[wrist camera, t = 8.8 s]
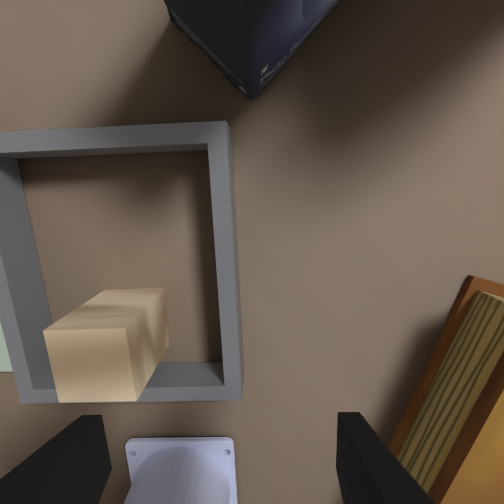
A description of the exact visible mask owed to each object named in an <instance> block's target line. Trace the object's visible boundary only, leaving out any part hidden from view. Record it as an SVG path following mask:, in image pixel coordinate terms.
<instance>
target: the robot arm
mask: <svg viewBox="0 0 504 504" xmlns="http://www.w3.org/2000/svg"><path fill="white" fill-rule="evenodd" d="M226 449H227V450H228V451H227V450H226ZM125 450H126V456H127V462H128V468H129V474H130V480H131V487H130V489H129V492H128V494H127V496H126V499H125V501H124V503H123V504H238V500H237V484H236V469H235V454H234V442H233V440H232V439H231V438H230V437H176V438H130V439H129V440H128V441H127V443H126V445H125ZM111 469H112V466H111V461H110V456H109V451H108V446H107V440H106V435H105V430H104V425H103V419H102V415H82V416H81V417H79V418H78V419H76V420H75V421H74V422H72V423H71V424H70V425H69V426H67V427H66V428H65V429H63V430H62V431H61V432H60V433H58V434H57V435H56V436H55V437H53V438H52V439H51V440H50V441H48V442H47V443H46V444H44V445H43V446H42V447H41V448H39V449H38V450H37V451H36V452H34V453H33V454H32V455H31V456H29V457H28V458H27V459H26V460H24V461H23V462H22V463H20V464H19V465H18V466H17V467H15V468H14V469H13V470H12V471H10V472H9V473H8V474H6V475H5V476H4V477H3V478H1V479H0V504H98V502H99V500H100V498H101V495H102V493H103V490H104V488H105V485H106V482H107V480H108V477H109V475H110V472H111ZM336 470H337V474H338V479H339V484H340V489H341V494H342V498H343V503H344V504H436V503H435V502H434V500H433V499H432V498H431V497H430V496H429V495H428V494H427V493H426V492H425V490H424V489H423V488H422V487H421V486H420V485H419V484H418V482H417V481H416V480H415V479H414V478H413V477H412V476H411V474H410V473H409V472H408V471H407V470H406V469H405V468H404V466H403V465H402V464H401V463H400V462H399V461H398V459H397V458H396V457H395V456H394V455H393V453H392V452H391V451H390V450H389V448H388V447H387V446H386V445H385V444H384V442H383V441H382V440H381V439H380V437H379V436H378V435H377V434H376V432H375V431H374V430H373V429H372V427H371V426H370V425H369V424H368V422H367V421H366V420H365V418H364V417H363V416H362V415H361V414H360V413H359V412H338V425H337V455H336Z"/></svg>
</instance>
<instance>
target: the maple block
mask: <svg viewBox="0 0 504 504" xmlns="http://www.w3.org/2000/svg"><path fill="white" fill-rule="evenodd" d="M43 334H44V338H45V343H46V347H47V351H48V356H49V360H50V365H51V369H52V374H53V378H54V383H55V387H56V392H57V396H58V400H59V403H73V402H124V401H137V400H138V398H139V396H140V395H141V393H142V391H143V389H144V388H145V386H146V384H147V383H148V381H149V379H150V377H151V376H152V374H153V372H154V370H155V369H156V367H157V365H158V363H159V362H160V360H161V358H162V356H163V355H164V353H165V351H166V350H167V348H168V346H169V344H170V337H169V329H168V320H167V312H166V303H165V295H164V288H156V289H126V290H104V291H102V292H101V293H99V294H98V295H96V296H95V297H93V298H92V299H90V300H89V301H87V302H86V303H84V304H83V305H81V306H80V307H78V308H76V309H75V310H73V311H72V312H70V313H69V314H67V315H66V316H64V317H63V318H61V319H60V320H58V321H57V322H55V323H54V324H52V325H51V326H49V327H48V328H46V329H45V330H43Z"/></svg>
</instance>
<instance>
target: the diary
mask: <svg viewBox="0 0 504 504" xmlns="http://www.w3.org/2000/svg"><path fill="white" fill-rule="evenodd" d="M388 448H389V450H390V451H391V452H392V453H393V455H394V456H395V457H396V458H397V459H398V461H399V462H400V463H401V464H402V465H403V466H404V468H405V469H406V470H407V471H408V472H409V473H410V474H411V476H412V477H413V478H414V479H415V480H416V481H417V482H418V484H419V485H420V486H421V487H422V488H423V489H424V490H425V492H426V493H427V494H428V495H429V496H430V497H431V498H432V499H433V500H434V502H435V503H436V504H504V285H503V284H499V283H496V282H492V281H489V280H485V279H482V278H478V277H475V276H471V275H468V278H467V280H466V282H465V284H464V286H463V288H462V290H461V292H460V294H459V297H458V299H457V301H456V303H455V305H454V307H453V309H452V311H451V314H450V316H449V318H448V320H447V322H446V324H445V326H444V328H443V331H442V333H441V335H440V337H439V339H438V341H437V343H436V345H435V347H434V350H433V352H432V354H431V356H430V358H429V360H428V362H427V364H426V367H425V369H424V371H423V373H422V375H421V377H420V379H419V381H418V383H417V386H416V388H415V390H414V392H413V394H412V396H411V398H410V400H409V403H408V405H407V407H406V409H405V411H404V413H403V415H402V417H401V419H400V422H399V424H398V426H397V428H396V430H395V432H394V434H393V436H392V439H391V441H390V443H389V445H388Z"/></svg>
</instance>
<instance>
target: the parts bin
mask: <svg viewBox="0 0 504 504" xmlns="http://www.w3.org/2000/svg"><path fill="white" fill-rule="evenodd" d="M198 150H208V157H209V171H210V185H211V200H212V214H213V228H214V242H215V256H216V271H217V285H218V299H219V313H220V327H221V342H222V356H223V362H197V363H158V365H157V367H156V369H155V370H154V372H153V374H152V376H151V377H150V379H149V381H148V383H147V384H146V386H145V388H144V389H143V391H142V393H141V395H140V396H139V398H138V400H137V401H124V402H160V401H224V400H242V392H243V380H244V365H243V346H242V327H241V308H240V289H239V270H238V251H237V232H236V213H235V195H234V176H233V157H232V138H231V129H230V127H229V125H228V123H227V121H208V122H188V123H168V124H148V125H128V126H108V127H88V128H68V129H48V130H28V131H8V132H0V322H1V326H2V330H3V334H4V338H5V342H6V346H7V350H8V354H9V358H10V362H11V366H12V370H13V374H14V378H15V382H16V386H17V390H18V393H19V397H20V401H21V404H34V403H59V400H58V396H57V392H56V387H55V383H54V378H53V374H52V369H51V365H50V360H49V356H48V351H47V347H46V343H45V338H44V334H43V330H45V329H46V328H48V327H49V326H51V325H52V322H51V317H50V312H49V308H48V303H47V298H46V293H45V289H44V284H43V279H42V274H41V270H40V265H39V260H38V255H37V251H36V246H35V241H34V236H33V232H32V227H31V222H30V217H29V213H28V208H27V203H26V198H25V194H24V189H23V184H22V180H21V175H20V170H19V165H18V161H17V159H26V158H47V157H69V156H90V155H112V154H133V153H155V152H176V151H198ZM73 403H97V402H73Z"/></svg>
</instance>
